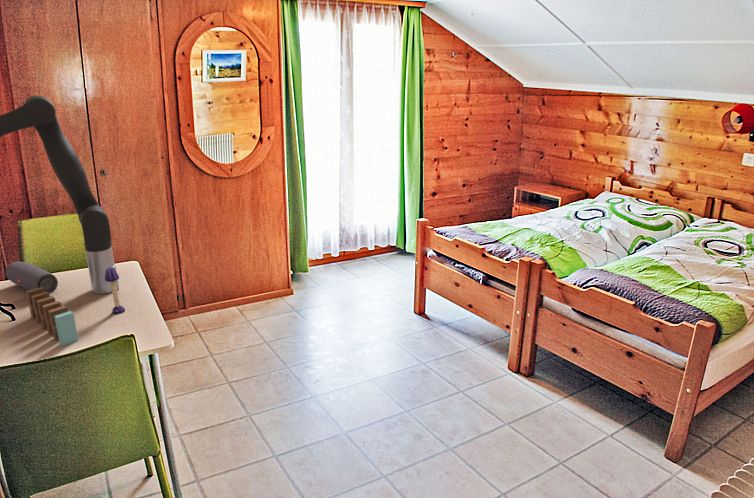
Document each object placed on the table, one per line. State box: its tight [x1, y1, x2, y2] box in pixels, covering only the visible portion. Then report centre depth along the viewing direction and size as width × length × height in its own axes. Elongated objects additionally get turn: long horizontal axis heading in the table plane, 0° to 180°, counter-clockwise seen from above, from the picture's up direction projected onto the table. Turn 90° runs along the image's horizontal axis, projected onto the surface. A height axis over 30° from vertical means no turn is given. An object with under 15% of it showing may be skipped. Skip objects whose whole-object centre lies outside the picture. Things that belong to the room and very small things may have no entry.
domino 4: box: [42, 300, 63, 336], centre depth 194 cm, size 2×5×10 cm, turn 140°
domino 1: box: [25, 287, 44, 320], centre depth 204 cm, size 2×5×10 cm, turn 140°
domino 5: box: [48, 305, 68, 341], centre depth 190 cm, size 2×5×10 cm, turn 140°
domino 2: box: [31, 292, 51, 325], centre depth 201 cm, size 2×5×10 cm, turn 140°
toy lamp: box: [105, 267, 126, 315], centre depth 207 cm, size 5×5×17 cm
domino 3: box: [37, 295, 56, 330], centre depth 197 cm, size 2×5×10 cm, turn 140°
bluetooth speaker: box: [5, 260, 59, 295], centre depth 225 cm, size 23×9×10 cm, turn 56°
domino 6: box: [54, 310, 79, 347], centre depth 187 cm, size 2×5×10 cm, turn 140°
